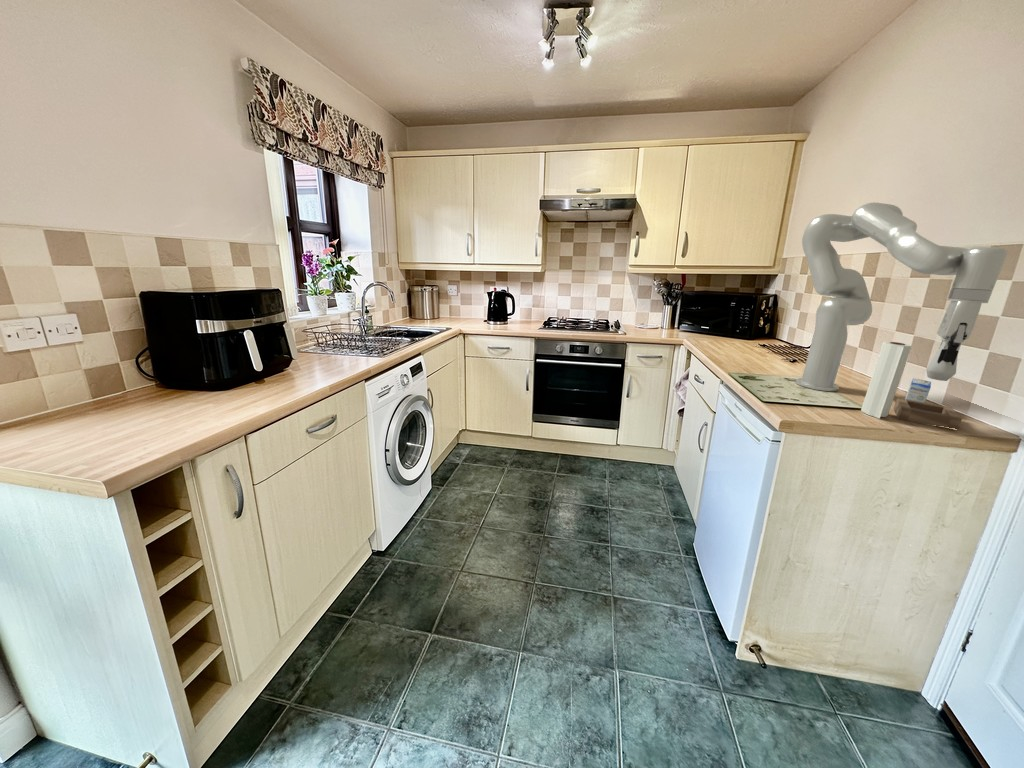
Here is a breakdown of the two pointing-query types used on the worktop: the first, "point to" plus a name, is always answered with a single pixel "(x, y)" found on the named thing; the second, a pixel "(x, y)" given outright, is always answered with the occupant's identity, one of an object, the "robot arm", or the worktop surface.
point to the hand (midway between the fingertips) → (943, 362)
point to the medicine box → (918, 390)
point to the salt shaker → (941, 365)
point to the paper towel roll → (885, 378)
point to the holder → (926, 413)
